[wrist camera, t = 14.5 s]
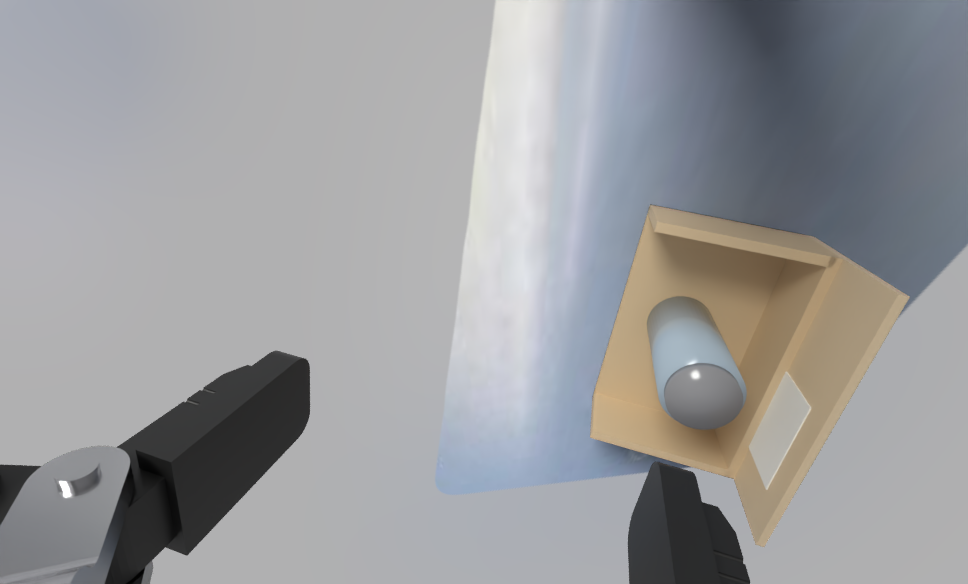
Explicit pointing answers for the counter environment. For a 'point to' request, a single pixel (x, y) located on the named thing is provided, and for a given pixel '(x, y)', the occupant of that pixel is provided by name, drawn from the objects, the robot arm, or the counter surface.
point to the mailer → (746, 350)
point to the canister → (693, 365)
